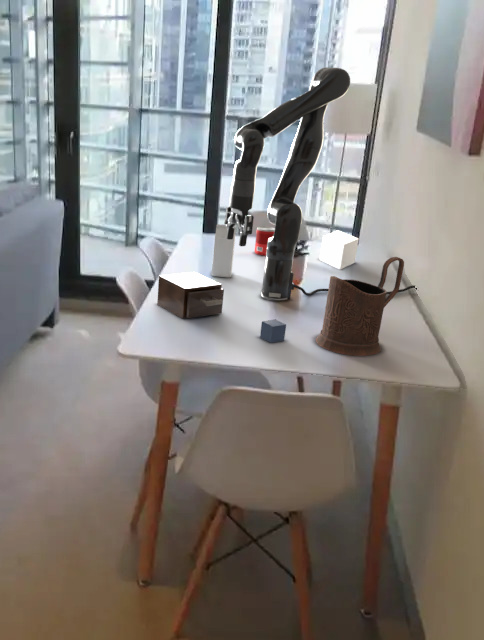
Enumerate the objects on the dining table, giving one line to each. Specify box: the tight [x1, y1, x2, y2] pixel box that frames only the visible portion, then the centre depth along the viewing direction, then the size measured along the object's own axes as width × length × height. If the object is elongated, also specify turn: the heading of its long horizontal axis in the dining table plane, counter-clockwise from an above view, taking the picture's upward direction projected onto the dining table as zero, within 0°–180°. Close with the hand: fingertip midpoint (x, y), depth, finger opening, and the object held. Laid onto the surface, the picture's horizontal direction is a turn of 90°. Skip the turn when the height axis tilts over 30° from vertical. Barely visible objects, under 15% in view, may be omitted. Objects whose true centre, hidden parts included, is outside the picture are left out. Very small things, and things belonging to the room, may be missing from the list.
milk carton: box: [211, 223, 237, 278], centre depth 271 cm, size 7×7×19 cm
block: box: [259, 319, 287, 344], centre depth 209 cm, size 5×5×5 cm
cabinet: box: [156, 271, 223, 320], centre depth 231 cm, size 16×14×10 cm
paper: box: [319, 229, 360, 270], centre depth 301 cm, size 14×29×10 cm, turn 170°
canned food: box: [254, 225, 275, 257], centre depth 307 cm, size 8×8×11 cm
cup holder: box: [315, 256, 405, 357], centre depth 205 cm, size 18×24×25 cm
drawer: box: [185, 288, 225, 319], centre depth 227 cm, size 19×13×8 cm, turn 28°
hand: (235, 242), depth 238 cm, fingers open, 8 cm apart
